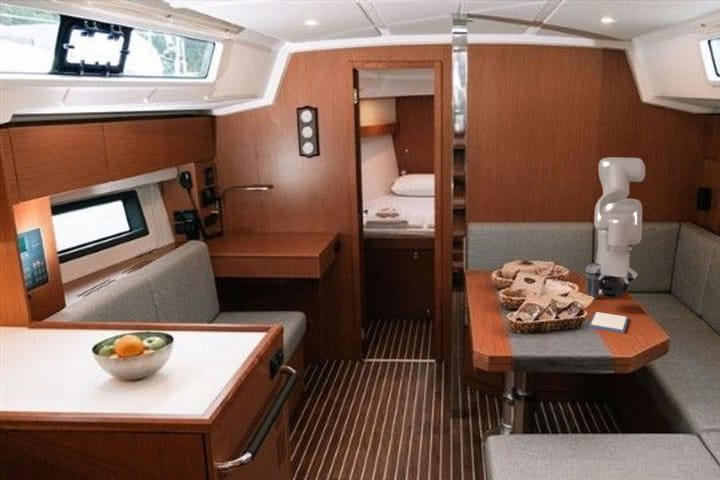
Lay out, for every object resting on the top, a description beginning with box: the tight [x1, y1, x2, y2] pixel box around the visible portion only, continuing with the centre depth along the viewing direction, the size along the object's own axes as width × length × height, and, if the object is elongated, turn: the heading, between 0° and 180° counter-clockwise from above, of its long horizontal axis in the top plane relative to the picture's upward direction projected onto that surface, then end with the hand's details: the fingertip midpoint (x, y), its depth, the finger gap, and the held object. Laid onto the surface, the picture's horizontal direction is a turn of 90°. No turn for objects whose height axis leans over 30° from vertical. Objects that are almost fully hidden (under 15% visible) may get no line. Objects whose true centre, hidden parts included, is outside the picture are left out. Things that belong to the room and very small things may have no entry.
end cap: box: [601, 276, 625, 299], centre depth 232 cm, size 10×7×7 cm
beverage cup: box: [584, 252, 601, 301], centre depth 247 cm, size 7×7×20 cm
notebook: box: [588, 311, 629, 334], centre depth 220 cm, size 16×12×1 cm
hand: (612, 290), depth 232 cm, fingers closed on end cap, 8 cm apart
